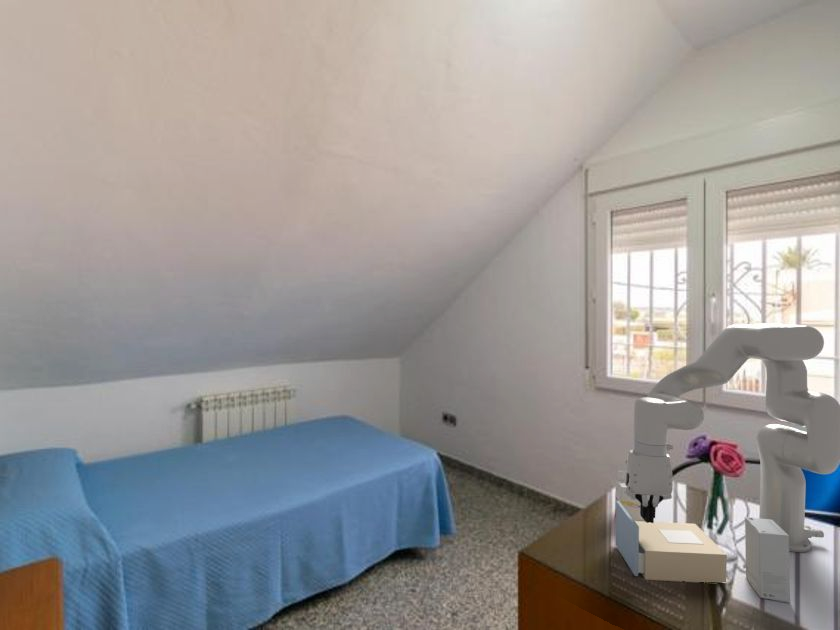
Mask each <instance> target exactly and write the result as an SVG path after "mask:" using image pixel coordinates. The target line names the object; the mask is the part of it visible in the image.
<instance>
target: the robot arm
mask: <svg viewBox="0 0 840 630" xmlns="http://www.w3.org/2000/svg"><path fill="white" fill-rule="evenodd" d="M824 344H825V340H824V337H823V334H822V333H821V332H820V331H819V330H818V329H817V328H815V327H814V326H809V325H800V324H786V323H785V324H782V323H767V322H765V323H762V322H761V323H754V324H741V323H740V324H732V325H728V326H727V327H726V328H724V329H723V330H721V332H720V333H719V335H718V336H717V337H716V338H715V339H714V340H712V342H711V344H710V345H709V346H708V347H707V348H706V349H705V350H704V351H703V352H702V353H701V355H700V356H699V357H698V358H697V359H696V360H695V361H693V362H692V363H689V364H686V365H684V366H682V367H681V368H678V369H677V370H674V371H672V372H670V373H668V374H666V375H665V376H664V377H663V378H661V379H660V380H659V381H658V382H657V383H656V384H655V385H654V387H653V388H652V389H651V391H649V393H648V394H647V396H646V397H643V396H642V397H638V398H637V399H636V400H635V402H634V409H633V411H634V412H633V413H634V416H633V437H632V439H633V443H632V449H629V451H628V454H627V458H626V461H627V463H626V462H625V470H624V471H625V485H626V486H627V488H626V492H625V493H626V495H627V496H629V497H632V498H636V499H637V500H638V501H639V502H640V503H641V505H640V515H641V517H642V518H643V519H644V520H645V522H646V523H649V522H651V523H654V522H655V521H654V519H656V509H657V508H658V506H659V504H660V503H661V502H662V501H664V500H665V501H667V500H671V499H672V498H673V495H672V493H673V489H674V488H673V486H674V485H673V484H674V483H673V481H674V480H673V469H672V462H671V457H670V455H669V451H673V448H674V446H673V444H671V443H668V436H669V434H668V433H669V429H671V430H680V431H681V430H682V431H691V430H694V429H697V428H699V427H700V426H701V425H702V424H703V422H704V419H705V412H704V410H703V408H702V407H701V405H699V404H698V403H696V402H695V401H693V400H691V399H686V398H684V397H682V396H683V395H685V394H687V393H690V392H692V391H696V390H700V389H707V388H713V387H718V386H723V385H725V384H728V382H729V383H730V381H731V379H732V378H733V377H734V376H735V375H736V374H737V372H739V370H740V369H741V368H742V366H743V365H744V364H745V363H746V362H747V361H748V360H749V359H755V360H762V361H763V363H764V365H765V370H766V373H765V374H766V375H765V376H766V378H765V379H766V380H765V381H766V382H765V410H766V412H767V414H768V416H770V417H772V419H776V420H779V421H782V422H785V423H789V424H792V425H797V426H799V427H802V428H806V430H802V429H799V428H796V427H792V426H788V425H784V424H779V423H778V424H777V423H771V424H765V425H763V426H762V427H761V428H760V429H759V430H758V432H757V435H756V446H757V450H758V454H759V455H758V456H759V460H760V483H759V484H760V486H759V490H760V491H759V517H758V518H760V519H770V520H773V521H774V522H775V523H776V524H777V525H778V526H779V527H780V528H781V529H782V530H783V531H785V532H786V533H787V534H788V535H789V552H792V553H806V552H809V551H810V550H812V542H811V540H810V539H812V537H814V538H824V536H825V533H824V531H823V530H822V529H814V528H811V526H810V525H805V521H806V520H805V518H806V517H805V513H806V511H805V510H806V487H807V486H806V477H805V474H804V472H803V470H805V471H809V472H812V473H816V474H820V475H829V474H832V473H834V472H835V471H836V470H837V469H838V467H839V465H840V402H839V401H838V400H837V399H836V398H835V397H833V396H832V395H830V394H826V393H823V392H819V391H814V390H810V389H808V370H807V367H806V364H805V362H804V361H807V360H811V359H814V358H815V357H817V356H819V355H820V353H821V352H822V351H823V349H824ZM647 495H649V499H648V501H647Z"/></svg>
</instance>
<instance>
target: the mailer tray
mask: <svg viewBox="0 0 840 630" xmlns="http://www.w3.org/2000/svg"><path fill="white" fill-rule="evenodd" d="M615 546H616V548H617V550H618V551H619V553H620V555H621V556H622V557H623V559H624V561H625V562H626V564H627V565H628V567H629V569H630V571H631V572H632V574H633V576H635V577H639V574H642V573H644V571H645V551H644V550H643V548H642V547H641V546H640V544H639V526H638V525H637V524H636V522H635V521H634V520H633V518H632V517H631V516H630V514H629V513H628V512H627V511H626V509H625V508H624V507H623V505H622V504H621V503H620V501H616V518H615Z"/></svg>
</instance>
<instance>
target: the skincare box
mask: <svg viewBox="0 0 840 630" xmlns="http://www.w3.org/2000/svg"><path fill="white" fill-rule="evenodd" d="M744 528H745V529H744V532H745V534H744V536H745V539H744V541H745V542H744V543H745V578H746V579H747V581H748V582H749V584H750V585H751V586H752V588H753V590H754V591H755V592H756V593H757V595H758V596H759V597H760V598H761V599H767V600H768V599H769V600H771V601H772V600H773V601H777V602H781V603H782V602H783V603H789V604H790V603H791V577H790V576H791V573H790V567H791V566H790V551H789V535H788V534H787V533H786V532H785V531H783V530H782V529H781V528H780V527H779V526H778V525H777V524H776V523H775V522H774V521H773V520H770V519H760V518H759V517H748V516H747V517H744Z"/></svg>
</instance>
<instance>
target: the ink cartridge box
mask: <svg viewBox="0 0 840 630" xmlns="http://www.w3.org/2000/svg"><path fill="white" fill-rule="evenodd" d="M626 488H627V486H626V485H625V470H617V471H616V480H615V490H614V491H615V494H614V495H615V497H614V498H615V499H614V519H616V501H620V503H621V504H622V505H623V507H624V508H625V509H626V511H627V512H628V513H629V514H630V516H631V517H632V518H633V520H634V521H645V520H644V519H643V518H642V517H641V515H640V505H641V503H640V502H639V501H638V500H637V499H636V498H632V497H629V496H627V495H626V493H625V492H626ZM648 499H649V495H647V501H648Z"/></svg>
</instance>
